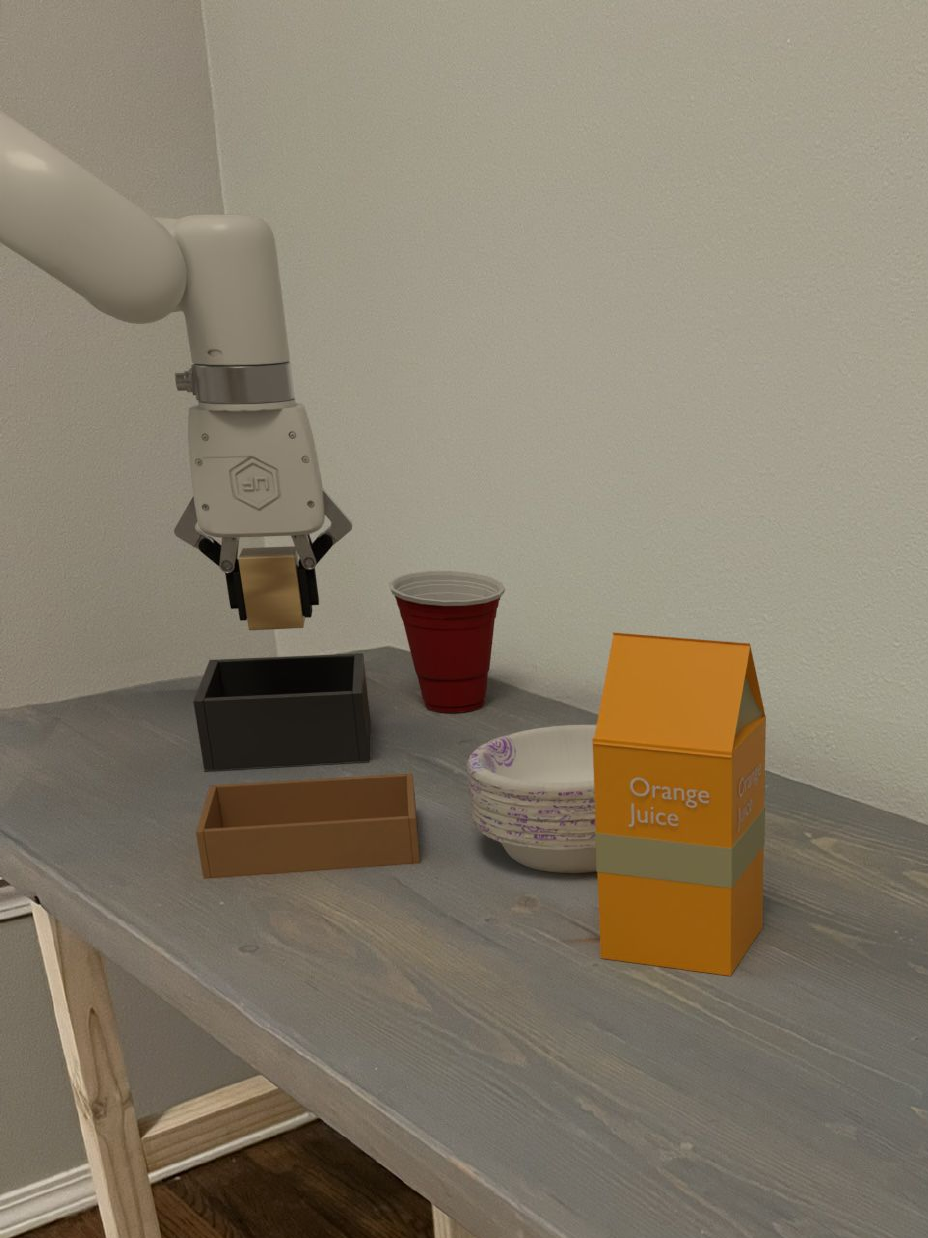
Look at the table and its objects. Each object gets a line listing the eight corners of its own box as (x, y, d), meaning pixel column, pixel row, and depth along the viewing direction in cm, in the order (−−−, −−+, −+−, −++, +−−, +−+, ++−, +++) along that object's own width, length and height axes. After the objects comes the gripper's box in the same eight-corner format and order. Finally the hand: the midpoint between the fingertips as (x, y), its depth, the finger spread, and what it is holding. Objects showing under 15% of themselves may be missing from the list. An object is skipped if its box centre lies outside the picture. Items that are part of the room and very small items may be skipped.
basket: (205, 777, 125) (192, 700, 122) (220, 730, 137) (209, 659, 134) (370, 767, 128) (361, 692, 125) (370, 722, 140) (363, 652, 137)
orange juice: (730, 977, 92) (733, 659, 83) (598, 958, 94) (586, 647, 85) (764, 927, 99) (769, 628, 90) (639, 911, 101) (632, 617, 92)
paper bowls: (460, 828, 115) (452, 729, 111) (649, 809, 119) (647, 713, 115) (491, 903, 102) (483, 794, 98) (703, 879, 106) (702, 774, 103)
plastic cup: (451, 728, 138) (440, 598, 133) (377, 707, 144) (364, 582, 139) (535, 703, 146) (528, 580, 140) (461, 684, 152) (452, 565, 146)
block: (248, 630, 125) (238, 558, 122) (252, 618, 129) (242, 547, 126) (303, 628, 126) (294, 556, 123) (305, 616, 130) (296, 545, 127)
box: (204, 884, 105) (195, 831, 103) (217, 834, 113) (209, 785, 111) (420, 869, 107) (415, 817, 106) (417, 821, 116) (412, 773, 114)
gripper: (127, 393, 114) (168, 630, 122) (352, 390, 117) (377, 621, 125) (140, 384, 120) (178, 610, 129) (353, 381, 124) (377, 601, 132)
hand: (276, 613), depth 127 cm, fingers closed on block, 4 cm apart
